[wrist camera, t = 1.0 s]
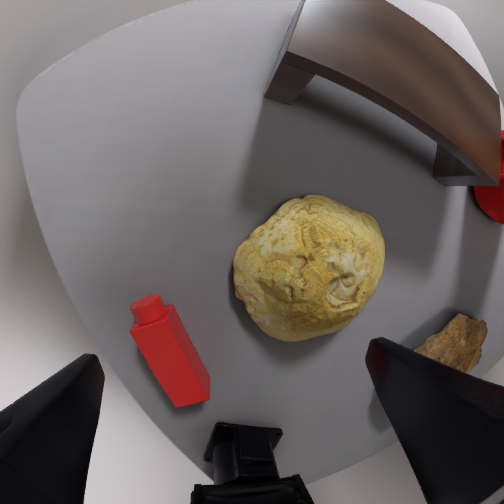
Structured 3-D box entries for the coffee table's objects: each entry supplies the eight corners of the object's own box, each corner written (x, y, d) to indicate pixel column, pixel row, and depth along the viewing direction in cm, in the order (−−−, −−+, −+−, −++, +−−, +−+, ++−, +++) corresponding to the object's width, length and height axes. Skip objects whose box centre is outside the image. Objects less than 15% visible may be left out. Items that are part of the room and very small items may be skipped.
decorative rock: (466, 276, 22) (362, 364, 23) (492, 285, 18) (381, 387, 19) (477, 345, 24) (390, 420, 25) (496, 357, 20) (405, 441, 21)
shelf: (445, 186, 20) (499, 186, 13) (263, 96, 17) (285, 50, 10) (453, 108, 19) (499, 95, 12) (293, 16, 16) (317, -32, 9)
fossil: (370, 163, 12) (431, 306, 15) (342, 162, 18) (398, 271, 20) (195, 275, 15) (288, 385, 17) (215, 243, 21) (285, 336, 23)
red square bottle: (210, 378, 20) (210, 400, 17) (179, 386, 20) (176, 408, 17) (166, 288, 18) (158, 302, 16) (132, 300, 18) (120, 315, 15)
